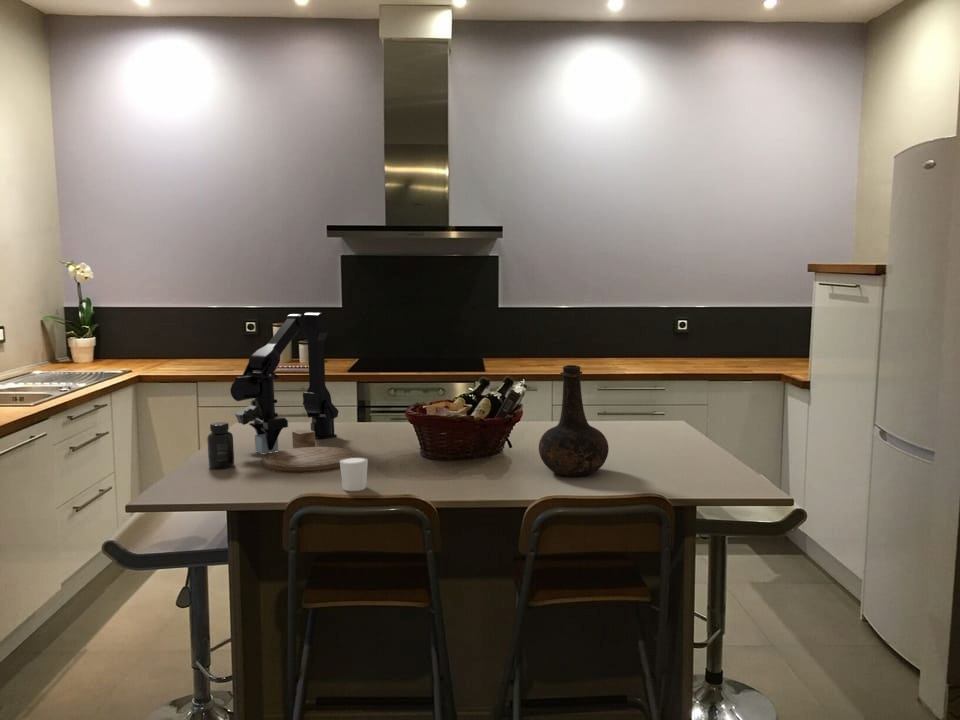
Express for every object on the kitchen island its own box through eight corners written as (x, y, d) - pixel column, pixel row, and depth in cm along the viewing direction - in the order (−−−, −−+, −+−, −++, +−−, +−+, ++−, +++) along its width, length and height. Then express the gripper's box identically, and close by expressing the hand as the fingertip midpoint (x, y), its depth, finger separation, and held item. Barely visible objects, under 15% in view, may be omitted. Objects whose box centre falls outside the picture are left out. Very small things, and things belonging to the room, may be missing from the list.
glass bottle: (616, 467, 224) (616, 362, 221) (596, 484, 208) (597, 371, 205) (552, 462, 231) (551, 360, 228) (529, 477, 215) (528, 368, 212)
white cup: (341, 484, 211) (340, 457, 210) (369, 483, 212) (368, 456, 211) (339, 492, 204) (338, 463, 203) (367, 491, 205) (367, 462, 204)
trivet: (372, 461, 237) (372, 454, 237) (298, 479, 219) (298, 471, 219) (319, 449, 254) (319, 443, 254) (245, 464, 236) (245, 457, 236)
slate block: (271, 449, 253) (270, 432, 253) (278, 452, 249) (277, 435, 249) (255, 451, 250) (254, 435, 250) (262, 454, 246) (261, 437, 246)
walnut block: (308, 445, 258) (307, 429, 258) (315, 448, 254) (314, 431, 254) (292, 447, 255) (292, 431, 255) (300, 450, 251) (299, 433, 251)
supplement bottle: (238, 463, 235) (236, 421, 234) (228, 469, 229) (226, 425, 227) (214, 463, 236) (212, 421, 235) (204, 469, 229) (202, 425, 228)
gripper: (225, 395, 250) (228, 447, 252) (250, 403, 236) (253, 458, 237) (261, 391, 257) (263, 441, 259) (287, 398, 242) (290, 452, 244)
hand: (266, 448), depth 250 cm, fingers closed on slate block, 5 cm apart
